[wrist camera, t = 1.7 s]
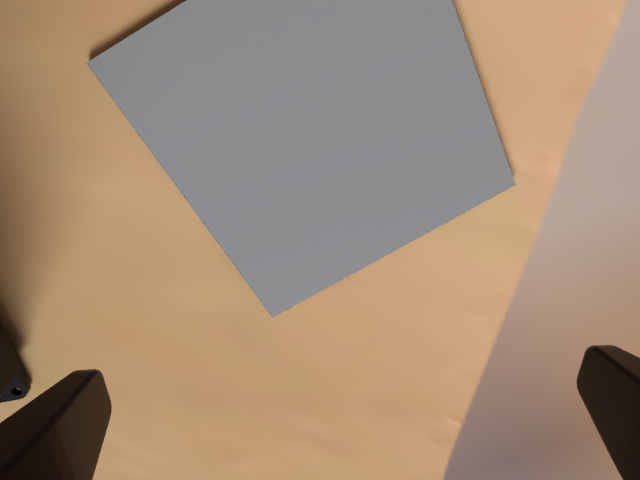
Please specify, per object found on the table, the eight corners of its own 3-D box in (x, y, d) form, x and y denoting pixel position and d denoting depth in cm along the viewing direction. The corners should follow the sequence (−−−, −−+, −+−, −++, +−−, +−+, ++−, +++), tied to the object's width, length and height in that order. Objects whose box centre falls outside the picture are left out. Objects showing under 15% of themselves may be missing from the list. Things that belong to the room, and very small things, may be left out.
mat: (272, 313, 23) (272, 317, 22) (89, 62, 17) (86, 63, 17) (511, 182, 22) (515, 184, 21) (402, -133, 16) (405, -137, 16)
